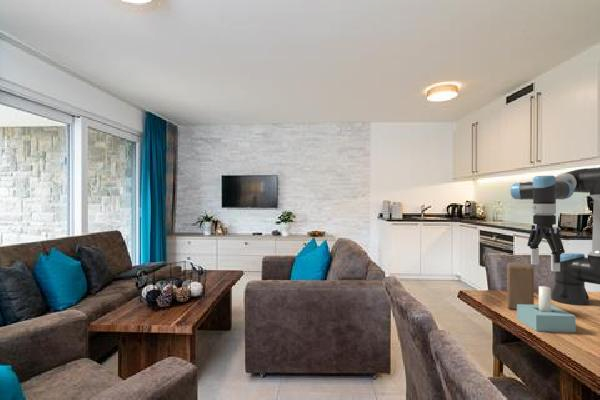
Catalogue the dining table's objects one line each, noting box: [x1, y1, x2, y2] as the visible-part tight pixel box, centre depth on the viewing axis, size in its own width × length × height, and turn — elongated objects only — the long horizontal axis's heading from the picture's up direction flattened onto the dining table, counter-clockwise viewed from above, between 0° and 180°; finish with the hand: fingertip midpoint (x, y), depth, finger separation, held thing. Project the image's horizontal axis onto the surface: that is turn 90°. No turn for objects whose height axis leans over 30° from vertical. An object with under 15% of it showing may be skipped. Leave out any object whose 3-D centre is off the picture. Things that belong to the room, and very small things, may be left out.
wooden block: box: [506, 262, 535, 311], centre depth 161 cm, size 10×10×20 cm
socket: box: [516, 304, 577, 333], centre depth 140 cm, size 14×14×6 cm
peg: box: [538, 285, 552, 312], centre depth 140 cm, size 4×4×14 cm
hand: (544, 267), depth 140 cm, fingers open, 13 cm apart
